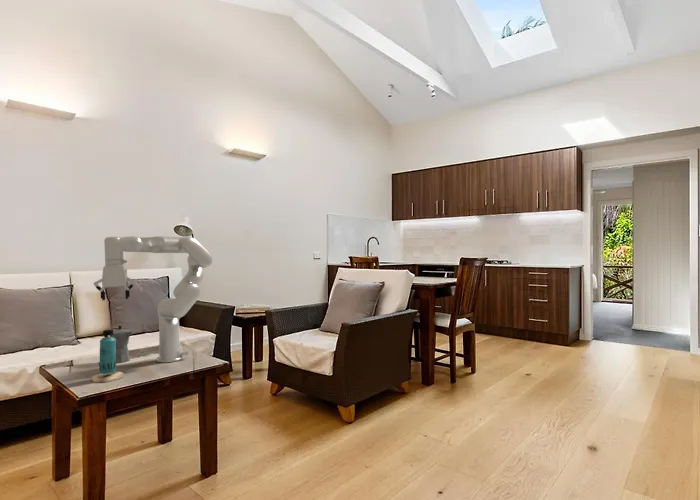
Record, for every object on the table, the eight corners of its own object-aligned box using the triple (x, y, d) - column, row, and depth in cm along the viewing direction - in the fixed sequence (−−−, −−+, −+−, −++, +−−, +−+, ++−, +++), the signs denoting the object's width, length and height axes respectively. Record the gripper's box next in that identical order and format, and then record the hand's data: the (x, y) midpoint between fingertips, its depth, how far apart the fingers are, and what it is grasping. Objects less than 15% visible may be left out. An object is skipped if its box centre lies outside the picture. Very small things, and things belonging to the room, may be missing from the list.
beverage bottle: (105, 372, 186) (105, 328, 186) (119, 373, 185) (119, 328, 185) (95, 377, 179) (95, 331, 179) (110, 377, 179) (110, 331, 179)
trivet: (126, 373, 190) (126, 370, 190) (120, 380, 178) (120, 377, 178) (96, 375, 186) (96, 372, 186) (88, 383, 175) (88, 380, 175)
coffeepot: (137, 359, 215) (137, 324, 216) (125, 363, 206) (125, 327, 206) (110, 358, 218) (110, 324, 218) (97, 362, 208) (97, 327, 208)
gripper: (136, 262, 201) (137, 297, 201) (95, 263, 195) (96, 299, 195) (133, 262, 194) (134, 299, 194) (91, 264, 188) (92, 301, 188)
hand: (115, 299), depth 194 cm, fingers open, 9 cm apart
